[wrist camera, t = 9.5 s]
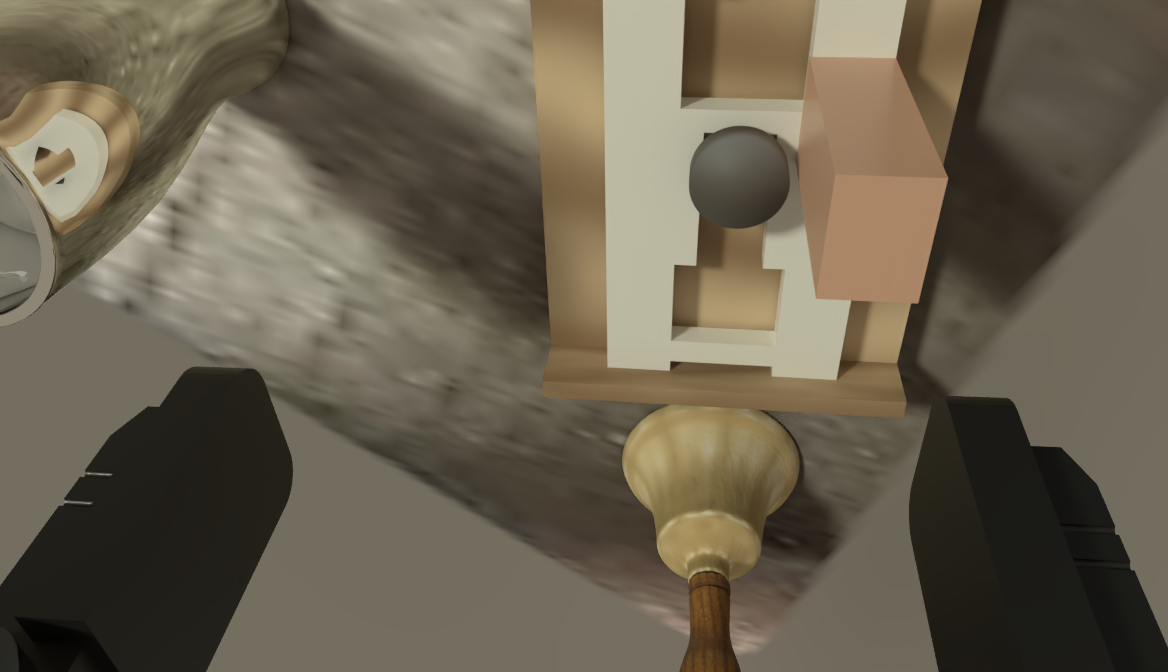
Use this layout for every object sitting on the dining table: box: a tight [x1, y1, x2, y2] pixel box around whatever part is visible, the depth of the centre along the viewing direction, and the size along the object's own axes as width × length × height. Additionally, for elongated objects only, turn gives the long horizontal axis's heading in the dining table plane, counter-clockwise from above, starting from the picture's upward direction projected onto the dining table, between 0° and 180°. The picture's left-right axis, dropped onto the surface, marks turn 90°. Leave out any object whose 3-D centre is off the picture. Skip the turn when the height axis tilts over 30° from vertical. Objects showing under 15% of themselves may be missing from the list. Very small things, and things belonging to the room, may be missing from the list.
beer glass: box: [0, 0, 290, 328], centre depth 26 cm, size 7×7×15 cm
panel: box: [603, 0, 948, 380], centre depth 27 cm, size 21×9×9 cm, turn 1°
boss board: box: [530, 0, 982, 418], centre depth 28 cm, size 28×14×4 cm, turn 1°
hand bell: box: [622, 404, 800, 672], centre depth 36 cm, size 8×8×16 cm
